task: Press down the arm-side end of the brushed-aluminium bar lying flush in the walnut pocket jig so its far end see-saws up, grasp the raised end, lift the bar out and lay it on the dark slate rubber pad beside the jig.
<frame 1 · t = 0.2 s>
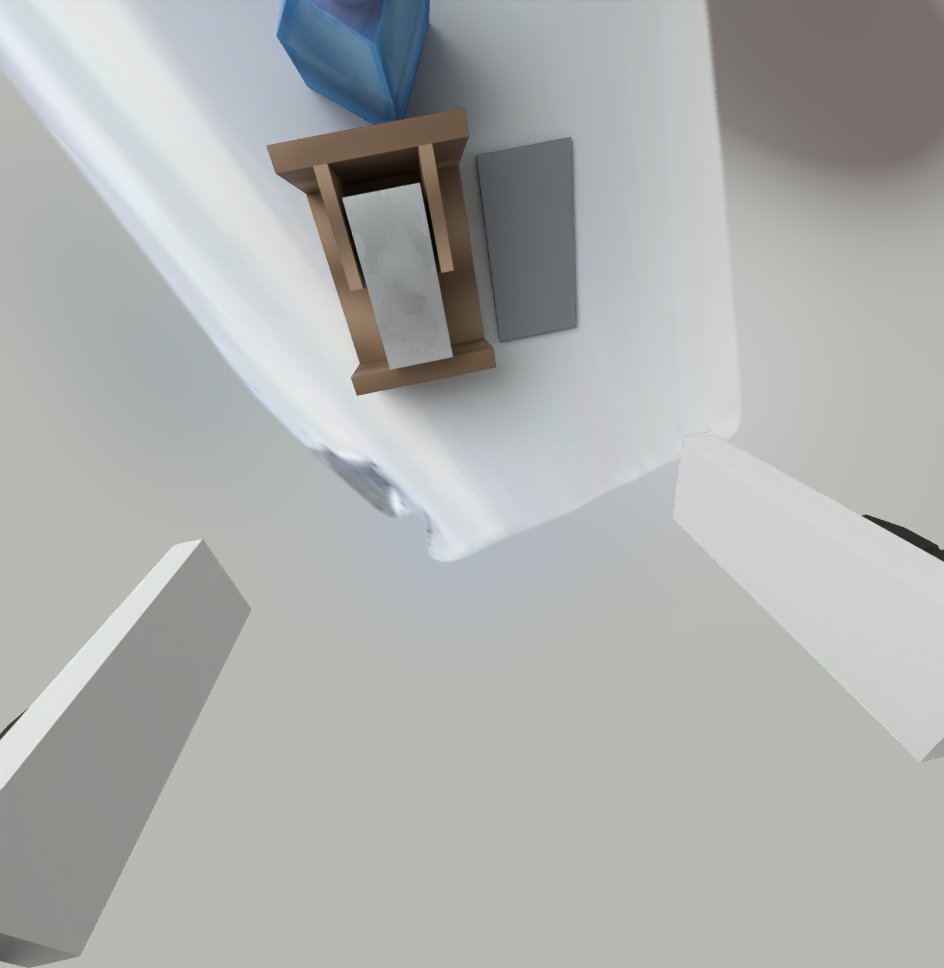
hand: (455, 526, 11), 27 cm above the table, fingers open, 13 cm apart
perfume bottle: (367, 56, 24), on the table
pocket jig: (406, 282, 31), on the table
bar: (405, 284, 27), point 4 cm above the table, touching pocket jig
slate pad: (530, 250, 31), on the table
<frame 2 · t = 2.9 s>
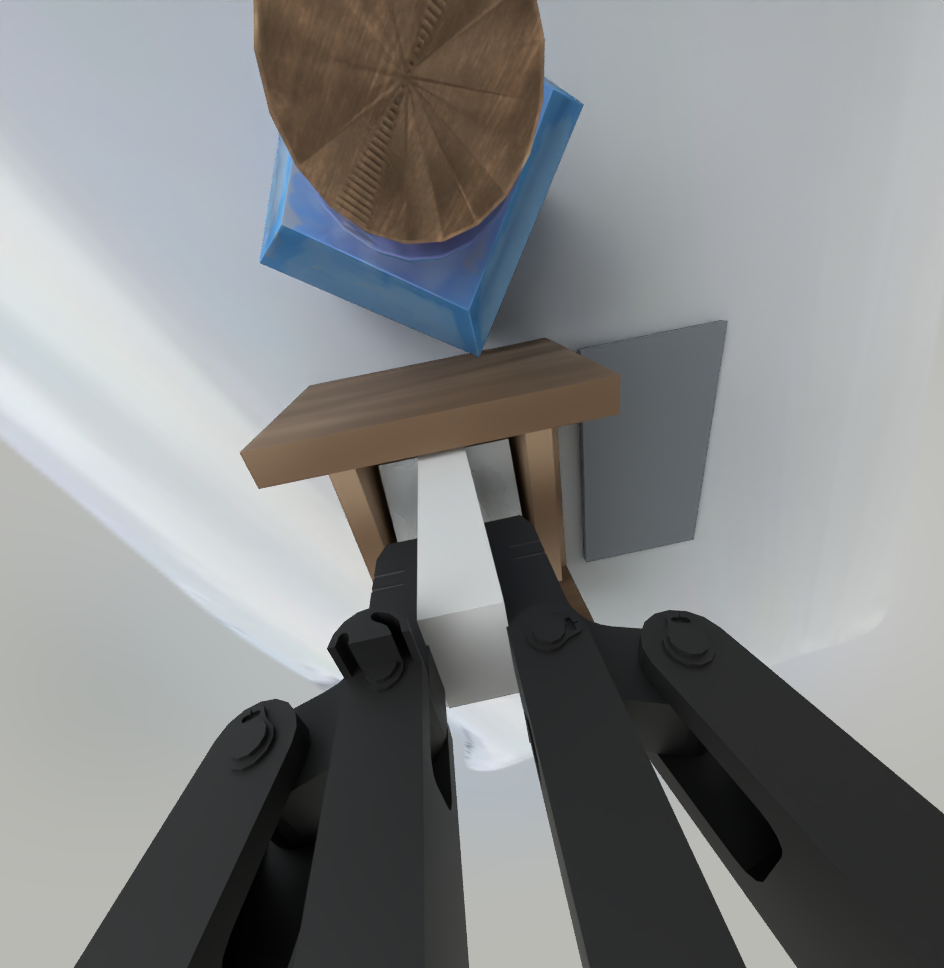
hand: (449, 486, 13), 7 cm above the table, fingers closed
perfume bottle: (417, 221, 15), on the table
pocket jig: (459, 503, 21), on the table
bar: (467, 548, 17), point 4 cm above the table, tilted 18°, touching gripper, pocket jig
slate pad: (642, 456, 21), on the table
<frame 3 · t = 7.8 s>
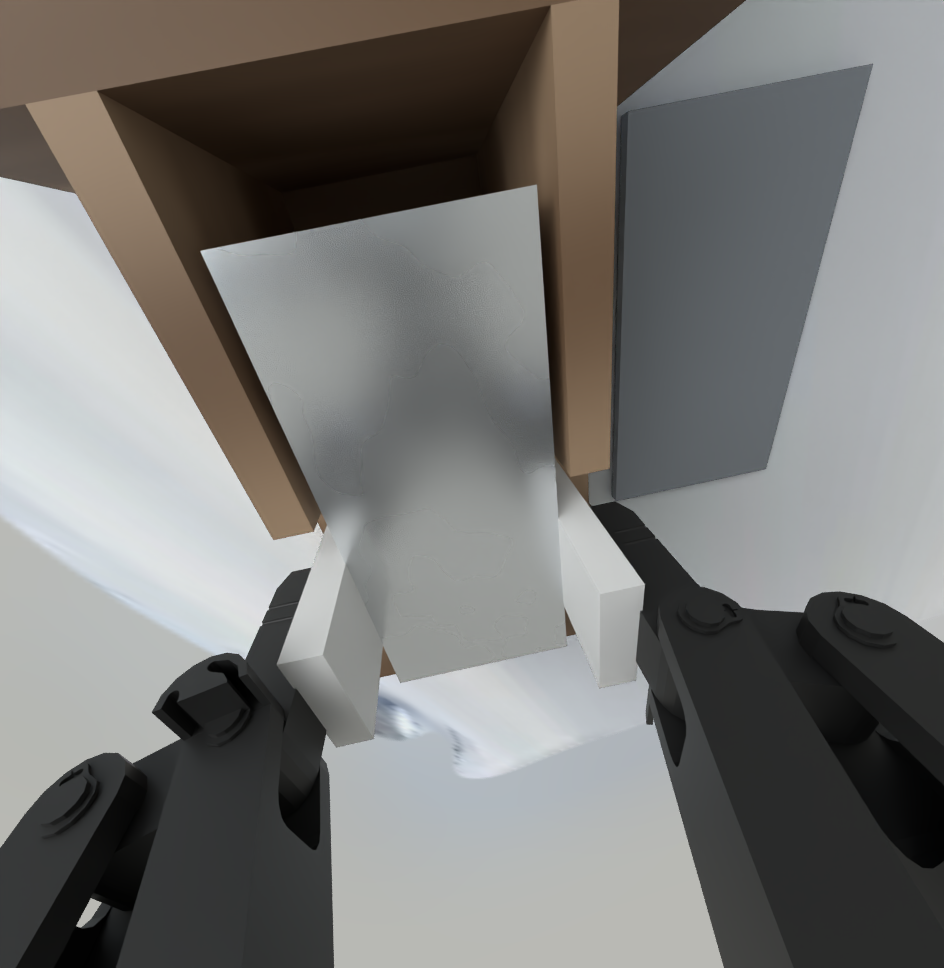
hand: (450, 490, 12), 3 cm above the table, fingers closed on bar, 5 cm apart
pocket jig: (433, 402, 14), on the table
bar: (438, 445, 11), point 4 cm above the table, touching gripper, pocket jig
slate pad: (706, 332, 14), on the table
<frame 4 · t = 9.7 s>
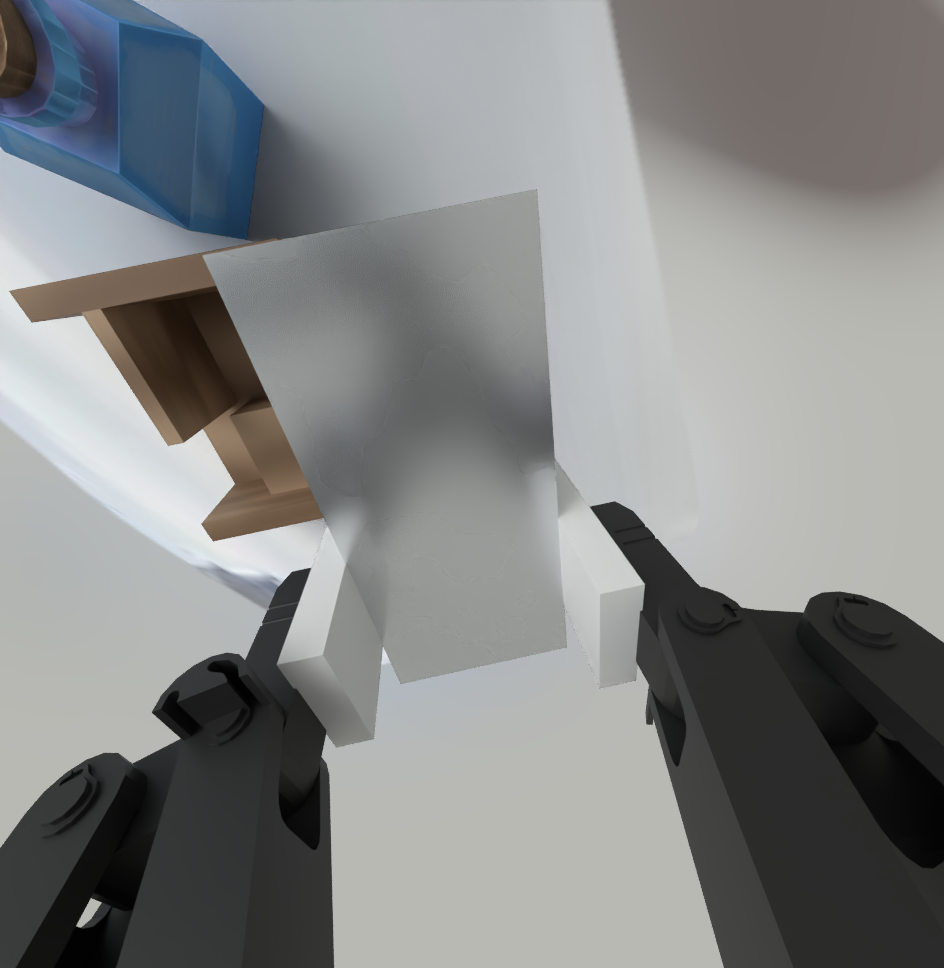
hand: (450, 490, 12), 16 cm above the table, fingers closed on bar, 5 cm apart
perfume bottle: (191, 146, 19), on the table
pocket jig: (282, 395, 26), on the table
bar: (438, 447, 11), point 17 cm above the table, touching gripper
when the fingers open (4 cm above the table, at t = 11.7 s): bar drops 4 cm, resting on slate pad.
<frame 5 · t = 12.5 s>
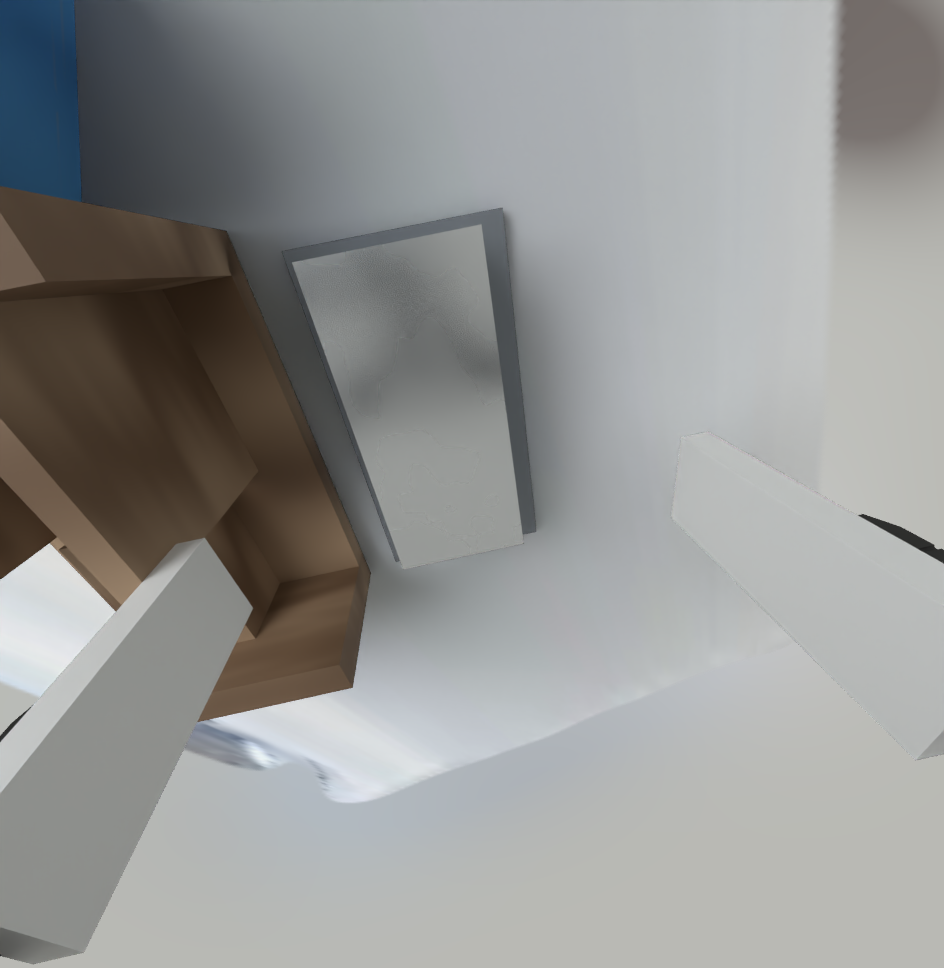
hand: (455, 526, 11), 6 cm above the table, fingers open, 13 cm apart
pocket jig: (188, 483, 15), on the table
bar: (430, 400, 14), resting on slate pad
slate pad: (437, 419, 15), on the table
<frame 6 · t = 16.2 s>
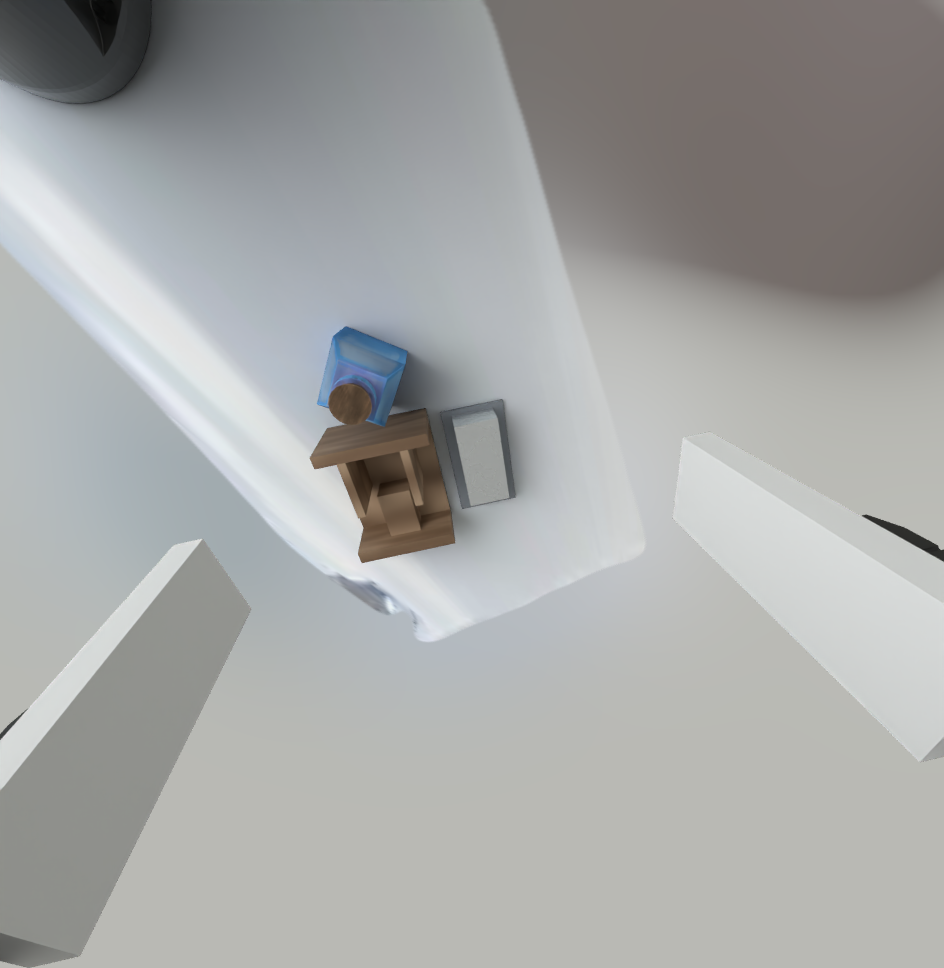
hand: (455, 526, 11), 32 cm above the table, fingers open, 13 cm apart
perfume bottle: (369, 368, 39), on the table
pocket jig: (395, 478, 45), on the table
bar: (479, 451, 44), resting on slate pad
slate pad: (480, 457, 45), on the table
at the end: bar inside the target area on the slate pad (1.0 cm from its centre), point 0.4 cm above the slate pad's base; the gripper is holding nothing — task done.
